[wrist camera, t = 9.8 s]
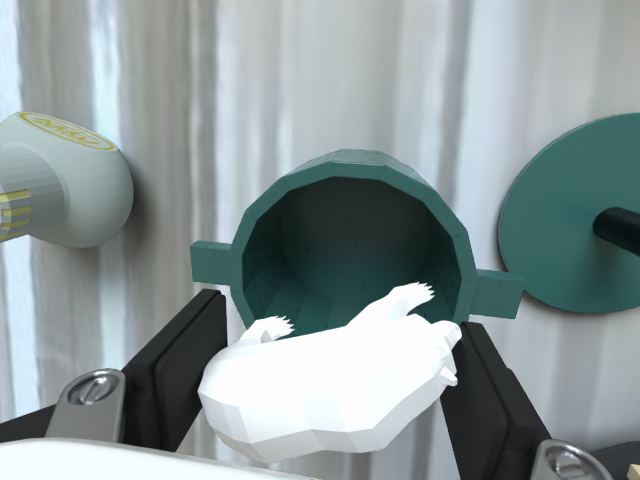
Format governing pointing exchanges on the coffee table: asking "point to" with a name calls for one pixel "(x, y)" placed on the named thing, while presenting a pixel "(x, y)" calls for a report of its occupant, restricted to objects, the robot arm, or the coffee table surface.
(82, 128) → the air freshener
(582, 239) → the lid
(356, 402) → the figurine
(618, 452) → the bowl
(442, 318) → the pot
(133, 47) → the coffee table surface
